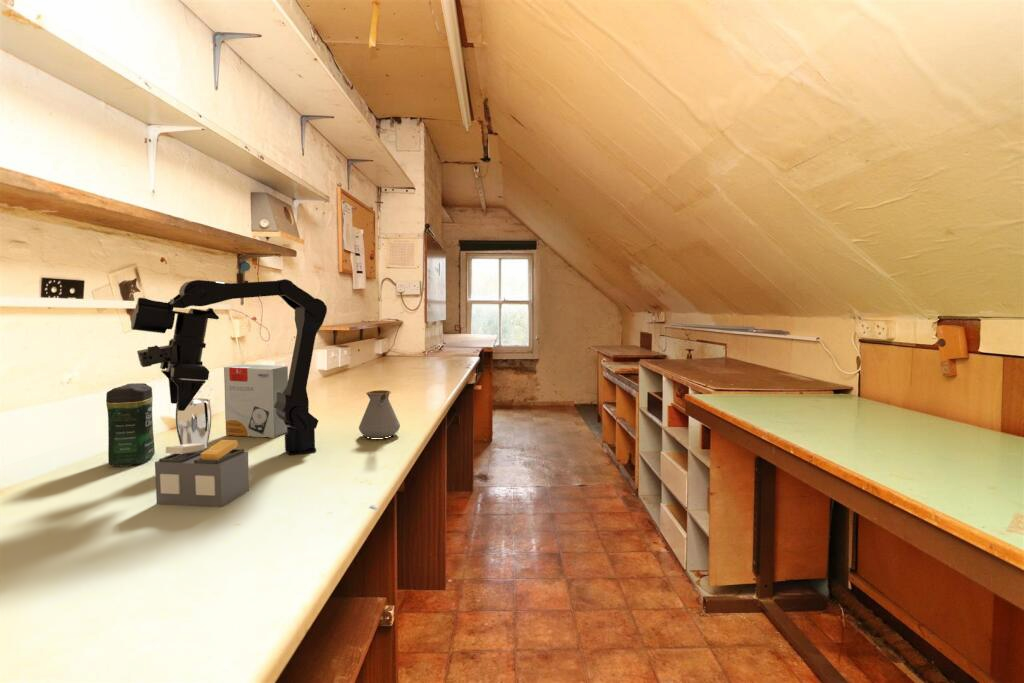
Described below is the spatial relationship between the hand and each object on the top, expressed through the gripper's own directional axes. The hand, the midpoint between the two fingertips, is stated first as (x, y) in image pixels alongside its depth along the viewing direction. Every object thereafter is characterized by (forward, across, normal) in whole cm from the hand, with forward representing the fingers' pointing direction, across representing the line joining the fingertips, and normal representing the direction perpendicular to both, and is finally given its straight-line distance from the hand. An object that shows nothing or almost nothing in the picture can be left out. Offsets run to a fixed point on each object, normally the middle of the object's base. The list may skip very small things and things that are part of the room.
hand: (177, 406), depth 106 cm
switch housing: (+14, +19, +4) cm, 24 cm away
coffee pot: (+7, +5, +48) cm, 49 cm away
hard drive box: (+12, -25, +25) cm, 37 cm away
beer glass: (+14, -5, +6) cm, 17 cm away
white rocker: (+5, +16, 0) cm, 17 cm away
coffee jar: (+16, -18, -4) cm, 25 cm away
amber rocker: (+4, +21, +4) cm, 22 cm away
